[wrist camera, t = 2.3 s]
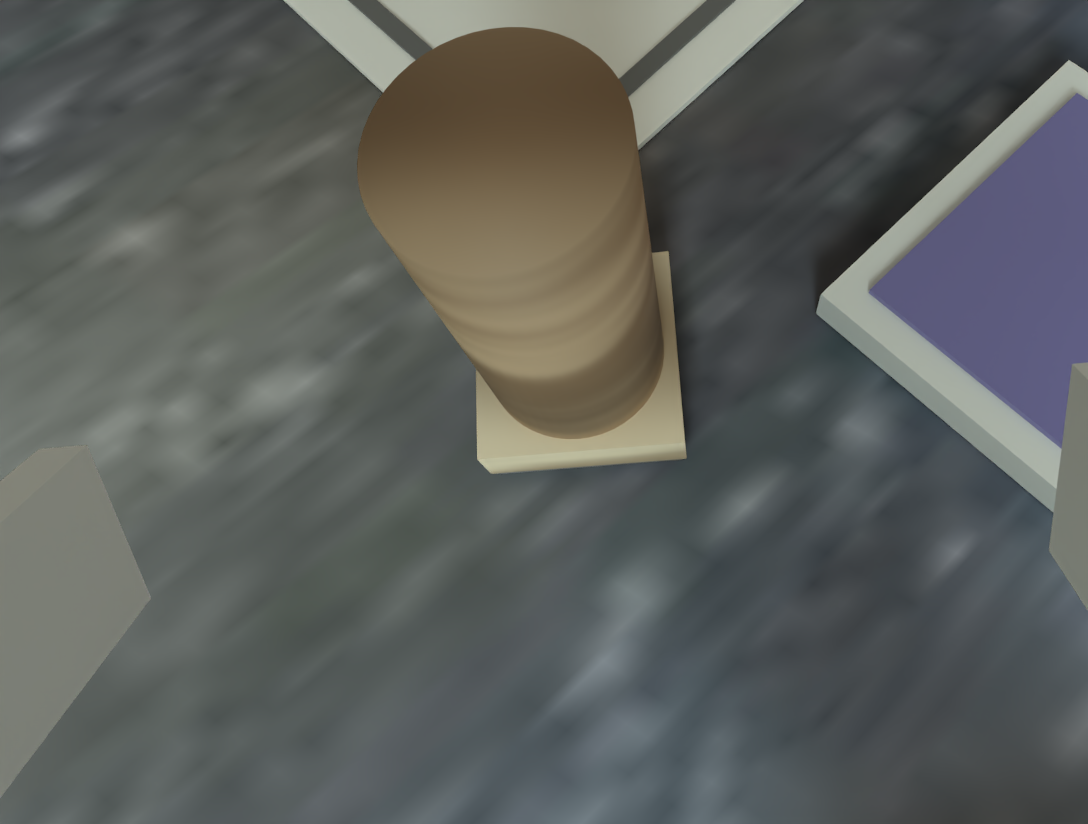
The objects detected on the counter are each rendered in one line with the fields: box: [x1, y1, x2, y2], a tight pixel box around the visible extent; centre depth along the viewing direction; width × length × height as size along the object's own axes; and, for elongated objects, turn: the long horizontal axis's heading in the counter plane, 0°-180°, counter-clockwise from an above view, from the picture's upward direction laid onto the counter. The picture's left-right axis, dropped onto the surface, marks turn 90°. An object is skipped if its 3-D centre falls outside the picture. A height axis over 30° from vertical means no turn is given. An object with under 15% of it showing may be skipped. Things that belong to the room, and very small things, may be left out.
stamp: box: [357, 27, 687, 474], centre depth 19 cm, size 5×5×11 cm
